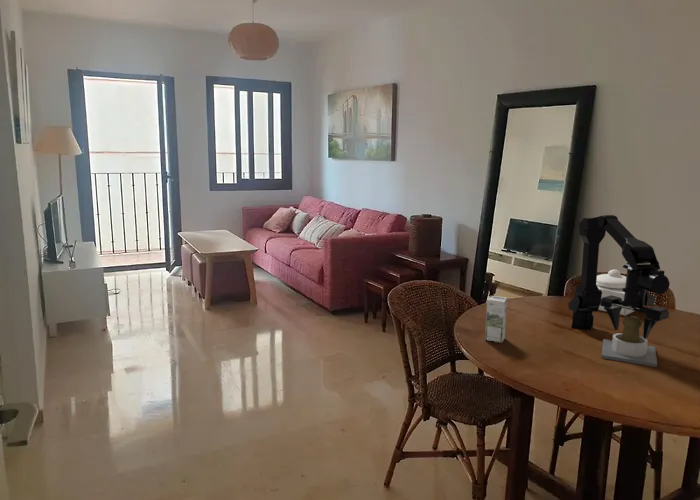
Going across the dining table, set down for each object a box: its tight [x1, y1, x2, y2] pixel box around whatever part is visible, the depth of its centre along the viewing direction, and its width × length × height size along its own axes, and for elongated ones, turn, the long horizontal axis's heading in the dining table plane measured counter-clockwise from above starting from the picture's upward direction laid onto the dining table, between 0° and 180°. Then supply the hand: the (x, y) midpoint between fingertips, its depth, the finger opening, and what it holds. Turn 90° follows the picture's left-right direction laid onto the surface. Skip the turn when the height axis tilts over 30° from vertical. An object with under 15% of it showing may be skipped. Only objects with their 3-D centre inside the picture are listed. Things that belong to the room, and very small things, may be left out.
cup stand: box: [600, 332, 658, 368], centre depth 169 cm, size 15×16×5 cm
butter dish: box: [596, 268, 639, 317], centre depth 218 cm, size 18×18×16 cm
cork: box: [621, 315, 643, 343], centre depth 168 cm, size 6×6×11 cm
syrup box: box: [484, 295, 508, 344], centre depth 179 cm, size 6×6×14 cm
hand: (630, 333), depth 168 cm, fingers open, 9 cm apart
